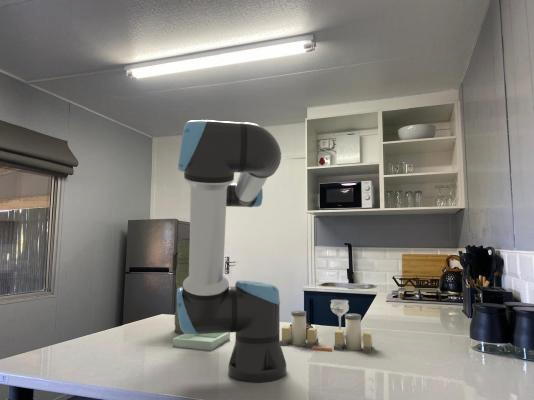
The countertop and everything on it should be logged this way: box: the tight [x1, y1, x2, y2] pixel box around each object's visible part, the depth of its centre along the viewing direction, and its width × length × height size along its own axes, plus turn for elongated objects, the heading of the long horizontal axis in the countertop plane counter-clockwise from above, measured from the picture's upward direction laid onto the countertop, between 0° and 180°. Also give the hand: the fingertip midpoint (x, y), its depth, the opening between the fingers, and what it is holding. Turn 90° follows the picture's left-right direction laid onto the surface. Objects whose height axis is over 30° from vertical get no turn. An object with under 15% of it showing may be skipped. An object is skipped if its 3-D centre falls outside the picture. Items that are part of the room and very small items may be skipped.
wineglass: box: [330, 299, 350, 336], centre depth 147 cm, size 7×7×12 cm
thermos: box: [172, 238, 190, 334], centre depth 154 cm, size 9×12×35 cm
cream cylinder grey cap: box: [290, 309, 307, 346], centre depth 133 cm, size 5×5×10 cm
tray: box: [172, 332, 231, 351], centre depth 133 cm, size 14×14×2 cm
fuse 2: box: [344, 313, 362, 351], centre depth 127 cm, size 5×5×10 cm
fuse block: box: [280, 325, 373, 354], centre depth 129 cm, size 10×29×5 cm, turn 71°
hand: (203, 293), depth 135 cm, fingers closed on supplement bottle, 5 cm apart
